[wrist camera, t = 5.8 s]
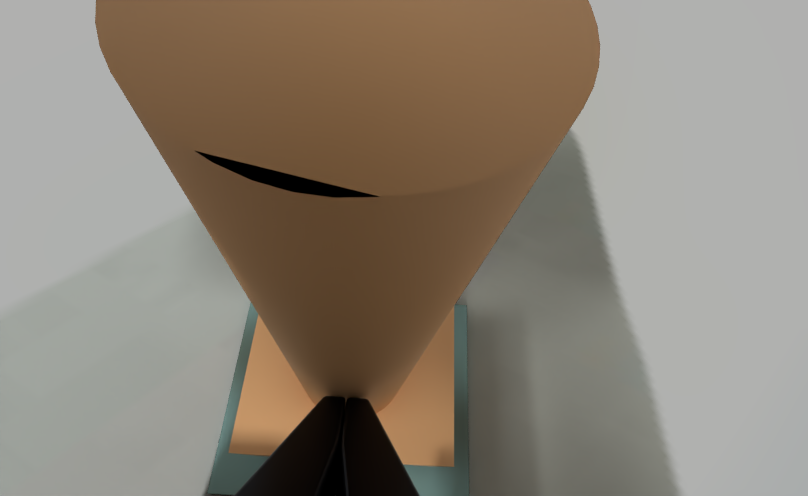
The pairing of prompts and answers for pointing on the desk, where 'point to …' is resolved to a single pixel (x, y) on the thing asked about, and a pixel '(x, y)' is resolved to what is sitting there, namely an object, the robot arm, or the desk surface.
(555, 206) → the desk surface
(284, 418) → the slider
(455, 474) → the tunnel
